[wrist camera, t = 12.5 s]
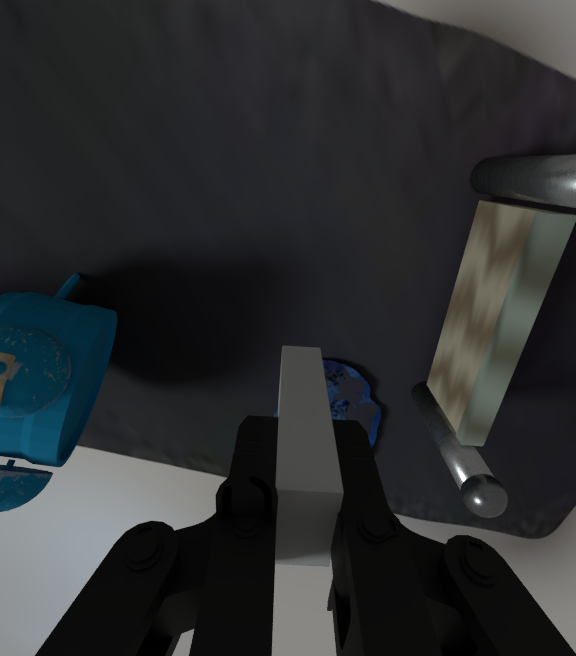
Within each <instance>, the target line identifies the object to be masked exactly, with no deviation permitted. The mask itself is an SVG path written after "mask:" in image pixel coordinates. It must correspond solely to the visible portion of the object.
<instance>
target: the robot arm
mask: <svg viewBox="0 0 576 656" xmlns="http://www.w3.org/2000/svg"><path fill="white" fill-rule="evenodd" d="M330 559H331V560H332V569H333V580H332V584H331V589H330V593H329V598H328V607H327V610H328V611H332V610H333V622H334V633H335V643H336V653H337V656H576V653H575V652H574V651H573V649H572V648H571V647H570V646H569V644H568V643H567V642H566V640H565V639H564V638H563V636H562V635H561V634H560V632H559V631H558V630H557V628H556V627H555V626H554V624H553V623H552V622H551V621H550V619H549V618H548V617H547V615H546V614H545V613H544V611H543V610H542V609H541V607H540V606H539V605H538V604H537V602H536V601H535V600H534V598H533V597H532V595H531V594H530V593H529V592H528V590H527V589H526V588H525V586H524V585H523V584H522V582H521V581H520V580H519V578H518V577H517V576H516V574H515V573H514V572H513V571H512V569H511V568H510V566H509V565H508V564H507V563H506V561H505V560H504V559H503V558H502V557H501V556H500V555H499V554H498V553H497V552H496V550H494V548H492V547H491V546H489V545H488V544H486V543H485V542H483V541H482V540H480V539H477V538H474V537H471V536H469V535H456V536H454V537H452V538H451V539H448V541H447V543H446V544H443V543H440V542H438V541H435V540H432V539H429V538H427V537H424V536H421V535H419V534H417V533H415V532H412V531H410V530H409V529H408V528H406V527H405V526H403V525H402V524H401V523H400V521H399V519H398V518H397V517H396V516H395V515H394V514H393V513H392V512H391V511H390V508H389V506H388V504H387V501H386V497H385V493H384V490H383V486H382V483H381V479H380V476H379V472H378V469H377V465H376V462H375V460H374V455H373V451H372V449H371V444H370V441H369V437H368V434H367V432H366V431H365V429H364V428H363V427H362V426H361V424H360V423H359V422H358V421H355V420H337V419H332V417H331V411H330V405H329V399H328V393H327V387H326V380H325V374H324V368H323V362H322V356H321V349H320V348H313V347H297V346H282V358H281V373H280V388H279V403H278V417H267V416H249V415H248V416H247V417H246V418H245V419H244V421H243V422H242V423H241V424H240V426H239V429H238V434H237V439H236V444H235V449H234V454H233V459H232V464H231V469H230V474H229V477H228V478H227V479H226V480H225V481H224V482H223V483H222V484H221V485H220V487H219V489H218V491H217V494H216V513H215V514H214V515H213V516H212V517H210V518H209V519H207V520H206V521H204V522H201V523H199V524H196V525H193V526H190V527H186V528H182V529H179V530H175V531H174V530H173V528H172V527H171V526H169V525H167V524H165V523H164V522H158V521H149V522H145V523H141V524H138V525H136V526H134V527H133V528H131V529H130V530H128V531H126V532H125V533H124V534H123V535H122V536H121V537H120V538H119V539H118V541H117V542H116V543H115V544H114V545H113V547H112V548H111V550H110V551H109V553H108V554H107V555H106V557H105V558H104V560H103V561H102V562H101V564H100V565H99V567H98V568H97V569H96V571H95V572H94V574H93V575H92V576H91V578H90V579H89V581H88V582H87V583H86V585H85V586H84V588H83V589H82V590H81V592H80V594H79V595H78V596H77V597H76V599H75V601H74V602H73V603H72V604H71V606H70V607H69V609H68V610H67V612H66V613H65V614H64V616H63V617H62V618H61V620H60V621H59V623H58V624H57V626H56V627H55V628H54V630H53V631H52V632H51V634H50V635H49V637H48V638H47V639H46V641H45V642H44V644H43V645H42V646H41V648H40V649H39V651H38V652H37V653H36V655H35V656H172V654H173V652H174V650H175V648H176V645H177V643H178V641H179V638H180V636H181V634H182V633H184V632H187V631H189V630H192V629H194V634H193V639H192V644H191V649H190V653H189V656H271V655H272V628H273V602H274V573H275V564H285V565H307V566H329V564H330Z"/></svg>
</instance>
